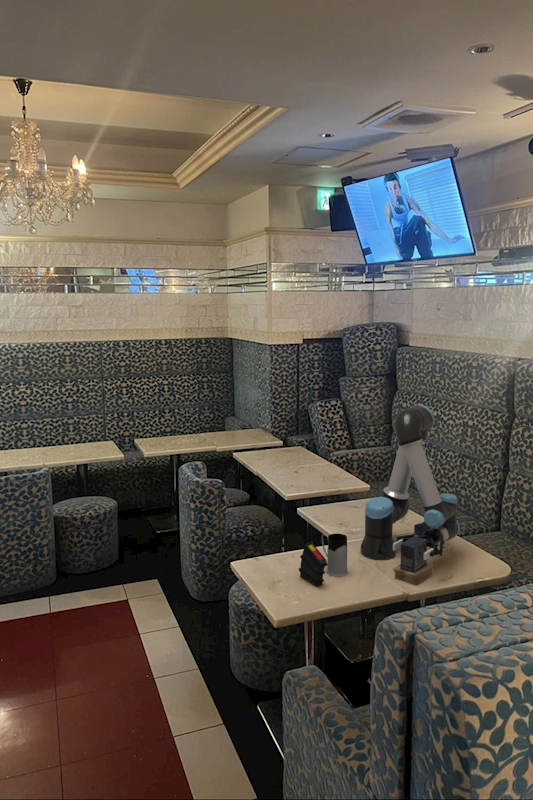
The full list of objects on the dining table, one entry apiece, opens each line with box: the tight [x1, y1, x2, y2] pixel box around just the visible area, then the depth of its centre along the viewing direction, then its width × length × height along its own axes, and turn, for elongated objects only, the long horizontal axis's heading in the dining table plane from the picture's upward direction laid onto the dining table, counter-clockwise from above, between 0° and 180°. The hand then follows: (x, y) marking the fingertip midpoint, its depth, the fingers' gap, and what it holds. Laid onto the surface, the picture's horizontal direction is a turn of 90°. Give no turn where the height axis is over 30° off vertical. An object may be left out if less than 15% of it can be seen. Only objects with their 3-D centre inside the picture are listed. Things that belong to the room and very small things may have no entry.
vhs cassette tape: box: [413, 521, 431, 536], centre depth 278 cm, size 18×3×10 cm, turn 126°
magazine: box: [298, 541, 328, 588], centre depth 239 cm, size 4×13×15 cm, turn 34°
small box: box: [400, 537, 428, 573], centre depth 243 cm, size 11×6×10 cm, turn 139°
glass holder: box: [321, 533, 349, 578], centre depth 249 cm, size 9×14×15 cm, turn 33°
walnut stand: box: [392, 562, 435, 586], centre depth 244 cm, size 10×14×4 cm
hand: (408, 551), depth 240 cm, fingers open, 13 cm apart
